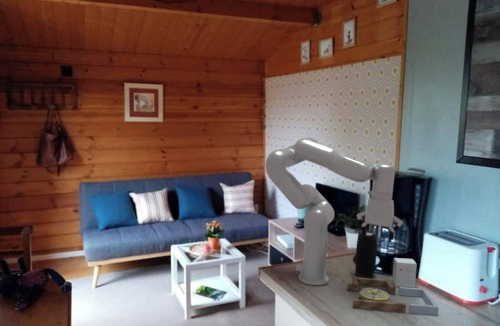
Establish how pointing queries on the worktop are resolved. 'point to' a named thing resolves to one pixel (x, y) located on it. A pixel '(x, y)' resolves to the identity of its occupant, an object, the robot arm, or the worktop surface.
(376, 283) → the low maze walls
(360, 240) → the portable speaker
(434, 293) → the worktop surface
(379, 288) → the mat
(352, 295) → the worktop surface
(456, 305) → the worktop surface
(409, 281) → the small box
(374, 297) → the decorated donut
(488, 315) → the worktop surface
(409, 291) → the frame
